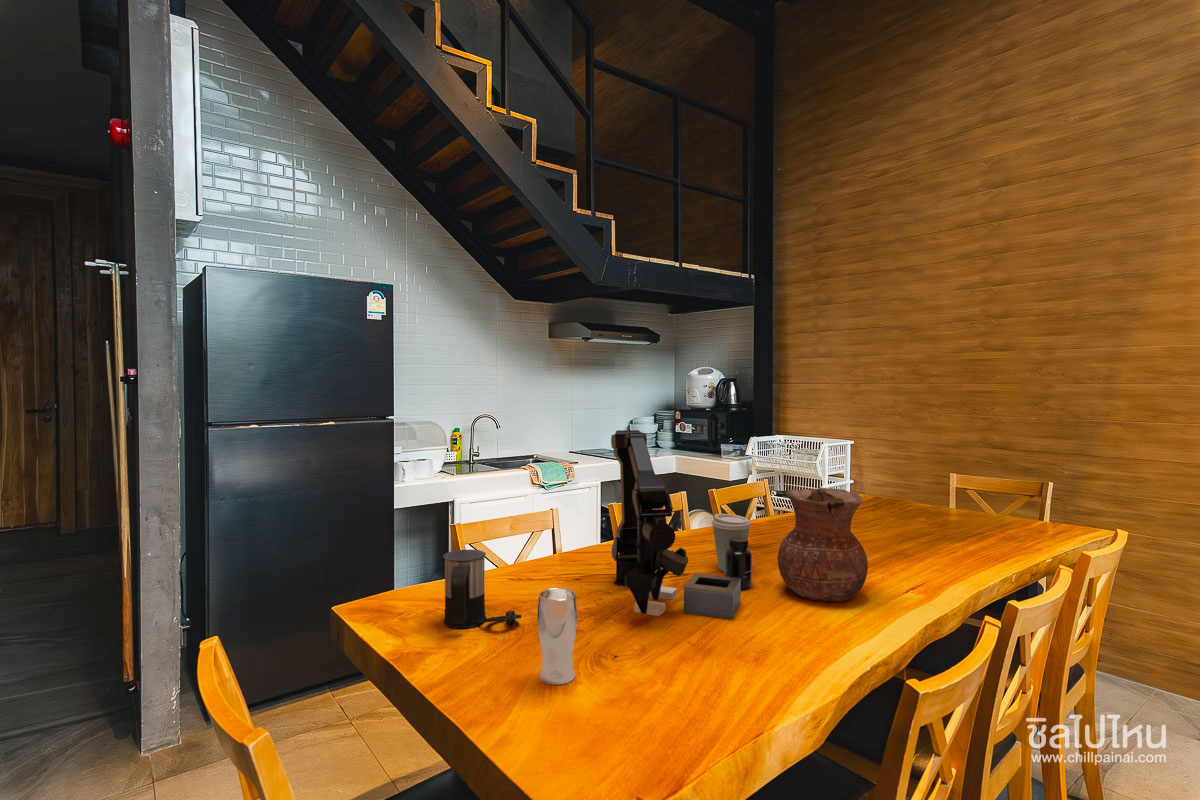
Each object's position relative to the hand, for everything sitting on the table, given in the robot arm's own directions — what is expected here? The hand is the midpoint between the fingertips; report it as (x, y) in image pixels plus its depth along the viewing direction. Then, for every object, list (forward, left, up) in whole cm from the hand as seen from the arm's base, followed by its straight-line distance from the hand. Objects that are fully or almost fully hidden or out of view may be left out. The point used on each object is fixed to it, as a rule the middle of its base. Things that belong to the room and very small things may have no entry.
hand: (650, 606), depth 145 cm
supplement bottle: (+16, +25, -1) cm, 30 cm away
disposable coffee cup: (+12, +38, -1) cm, 40 cm away
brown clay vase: (+36, +27, -1) cm, 45 cm away
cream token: (0, 0, -1) cm, 1 cm away
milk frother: (-32, -20, -1) cm, 38 cm away
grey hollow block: (+13, +7, -1) cm, 15 cm away
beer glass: (-6, -37, -1) cm, 38 cm away
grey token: (0, +11, -1) cm, 11 cm away
